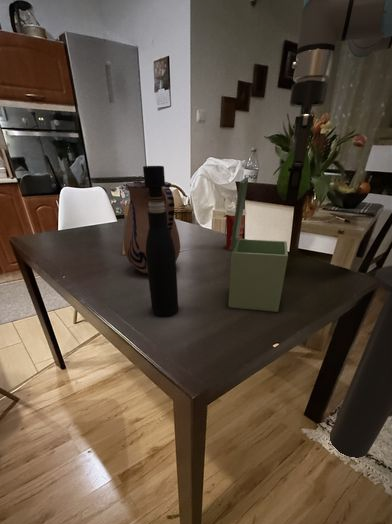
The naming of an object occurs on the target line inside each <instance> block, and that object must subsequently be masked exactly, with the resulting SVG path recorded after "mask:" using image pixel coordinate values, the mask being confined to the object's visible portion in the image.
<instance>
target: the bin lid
mask: <svg viewBox="0 0 392 524" xmlns="http://www.w3.org/2000/svg"><path fill="white" fill-rule="evenodd" d="M248 183H249V177H244V178H243V179H242V180H241V181H240V182H239V185H238V191H237V198H236V205H235V208H236V212H235V219H234V226H233V233H232V239H231V246H230V250H229V251H232V250H234V248H235V246H236V243H237V241H238V239H239V235H240V229H241V222H242V216H243V210H245V202H246V196H247V189H248Z"/></svg>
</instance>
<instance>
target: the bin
mask: <svg viewBox="0 0 392 524" xmlns="http://www.w3.org/2000/svg"><path fill="white" fill-rule="evenodd" d="M230 257H231V258H230V270H229V271H230V272H229V274H230V275H229V288H228V290H229V291H228V306H227V307H228V308H234V309H241V310H242V309H245V310H253V311H265V312H276V313H279V309H280V303H281V299H282V292H283V286H284V281H285V277H286V276H285V275H286V270H287V264H288V259H289V252H288V241H285V240H284V241H283V240H266V239H265V240H264V239H245V238H244V239H243V238H242V239H238V241H237V243H236V246H235V248H234V250H233V251H232V250H231V255H230Z"/></svg>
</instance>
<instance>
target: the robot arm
mask: <svg viewBox="0 0 392 524" xmlns="http://www.w3.org/2000/svg"><path fill="white" fill-rule="evenodd" d="M345 41H347V49H348V52H349V54H350V55H351V56H352V58H353V57H354V58H355V59H356V58H357V59H364V58H366V57H368V56H370V55H372V54H373V53H376V52H380V51H385V50H389V49H392V0H303V6H302V10H301V19H300V26H299V35H298V41H297V49H296V58H295V61H293V62H292V64H291V68H292V69H294V70H293V71H294V72H293V79H292V80H293V81H294V82H295V83H293V85H292V86H291V91H290V98H289V106H290V107H291V108H300V110H299V116H298V115H297V116H295V118H294V125H293V126H294V131H293V139H292V140H294V141H293V148H292V150H293V149H294V155H293V162H292V167H289V168H288V171H290V177H289V183H288V189H287V196H286V203H297V202H298V200H297V197H298V192H299V186H300V181H301V175H302V170H303V167H304V159H305V153H306V152H307V148H308V141H309V139H310V135H311V129H312V126H313V124H314V119H315V116H314V115H313V113H312V109H313V108H315V107H320V106H323V105H324V104H325V102H326V96H327V93H328V87H329V84H328V82H327V81H328V80H329V79H330V77H331V73H332V68H333V62H334V57H335V51H336V44H337V42H345Z"/></svg>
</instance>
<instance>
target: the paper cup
mask: <svg viewBox="0 0 392 524" xmlns="http://www.w3.org/2000/svg"><path fill="white" fill-rule="evenodd" d="M235 212H236V207H233V208H227V209H226V212H225V221H226V223H225V224H226V225H225V227H226V228H225V233H226V235H225V237H226V239H225V240H226V250H227V251H231V252H232V251H233V250H230V246H231V239H232V233H233V226H234V219H235ZM246 215H247V212H246V209H244V210H243V216H242V222H241V229H240V235H239V239H243V235H244V227H245V220H246Z"/></svg>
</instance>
